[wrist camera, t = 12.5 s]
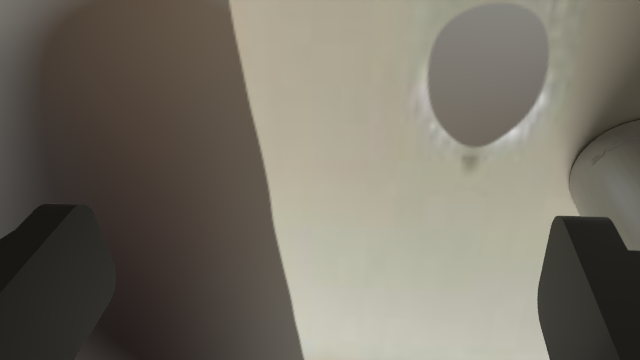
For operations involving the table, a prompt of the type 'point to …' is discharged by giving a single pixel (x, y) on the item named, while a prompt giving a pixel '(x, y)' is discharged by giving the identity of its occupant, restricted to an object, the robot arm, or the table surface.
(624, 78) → the table surface
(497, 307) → the table surface
